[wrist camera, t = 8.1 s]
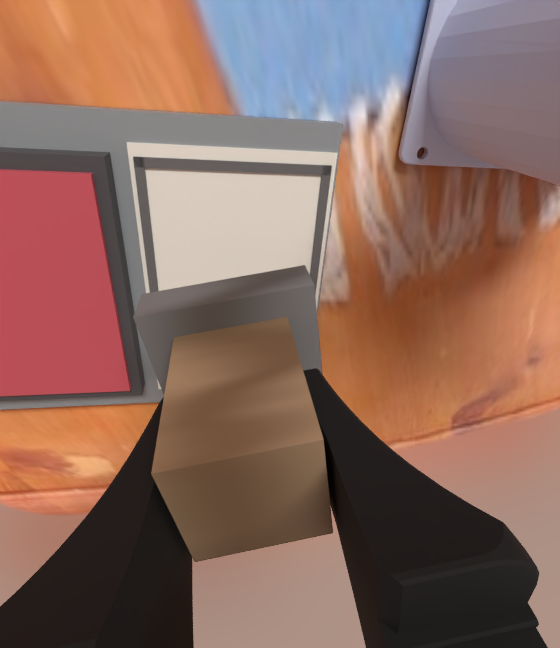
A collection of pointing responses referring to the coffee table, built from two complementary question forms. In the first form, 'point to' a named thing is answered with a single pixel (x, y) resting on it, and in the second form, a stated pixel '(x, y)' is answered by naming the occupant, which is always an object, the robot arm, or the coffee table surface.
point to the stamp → (238, 411)
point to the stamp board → (139, 232)
